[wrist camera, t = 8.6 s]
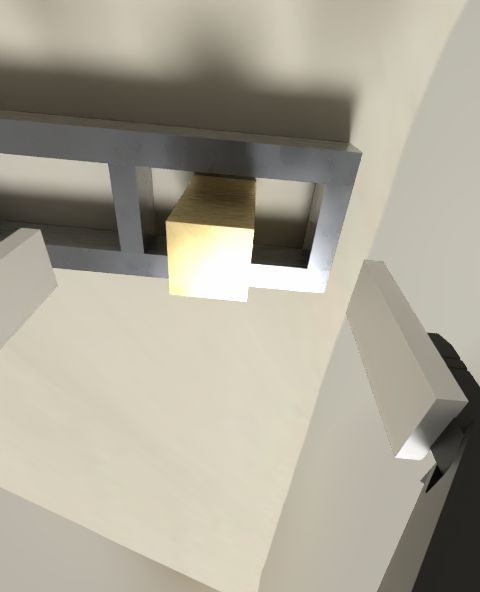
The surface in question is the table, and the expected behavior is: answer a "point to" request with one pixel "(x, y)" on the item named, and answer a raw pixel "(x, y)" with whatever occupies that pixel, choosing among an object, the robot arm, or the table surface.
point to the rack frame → (189, 157)
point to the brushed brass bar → (212, 238)
